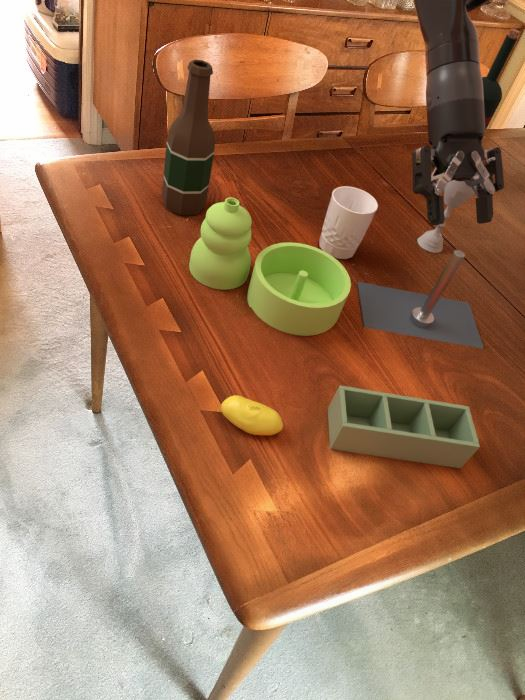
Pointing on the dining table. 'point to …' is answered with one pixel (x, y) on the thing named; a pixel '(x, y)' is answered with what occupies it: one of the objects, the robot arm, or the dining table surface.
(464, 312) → the mat
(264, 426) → the yellow potato
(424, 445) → the caddy
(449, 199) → the chalice
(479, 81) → the robot arm
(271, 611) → the dining table surface
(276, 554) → the dining table surface
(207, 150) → the beer bottle
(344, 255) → the white cup
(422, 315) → the metal rod stand
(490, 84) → the wine bottle
